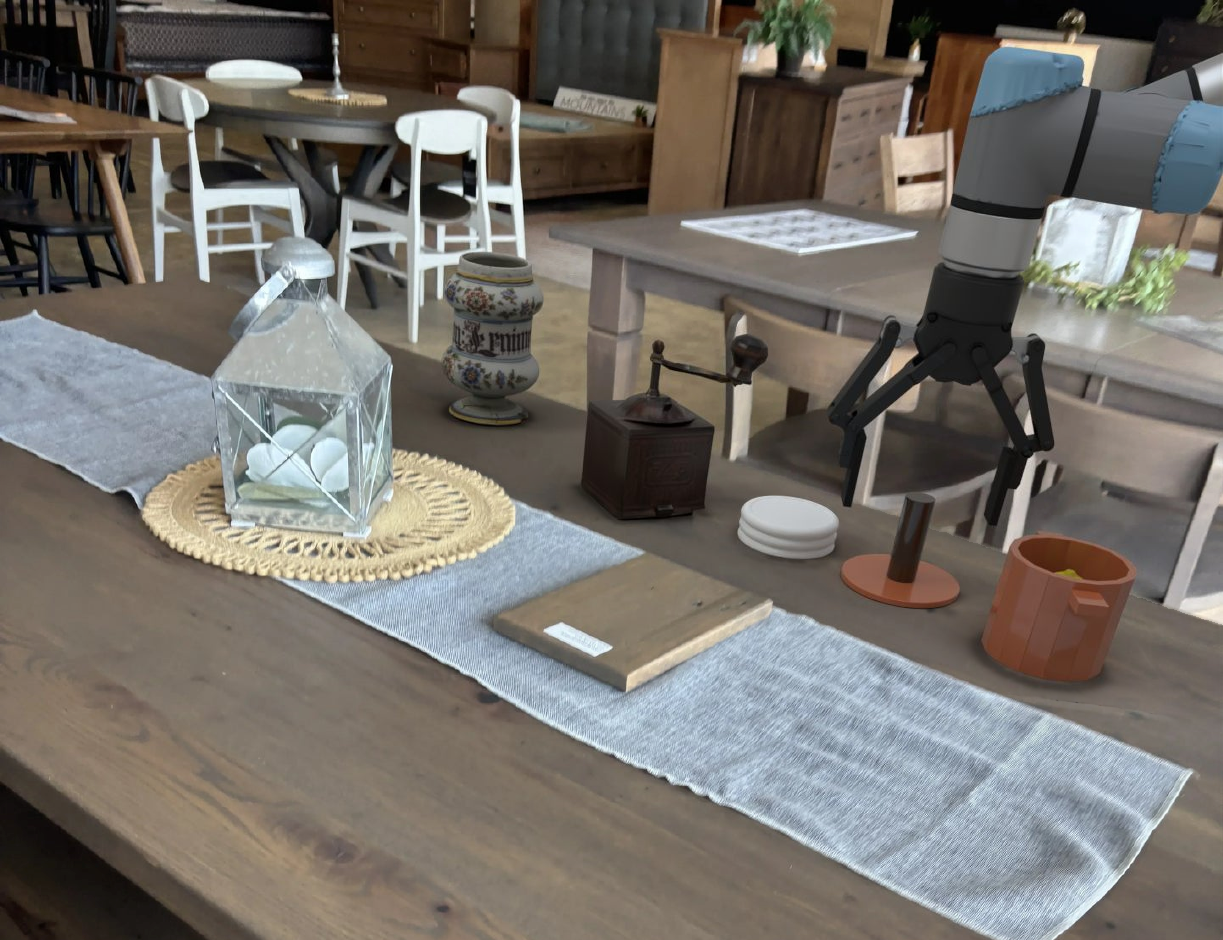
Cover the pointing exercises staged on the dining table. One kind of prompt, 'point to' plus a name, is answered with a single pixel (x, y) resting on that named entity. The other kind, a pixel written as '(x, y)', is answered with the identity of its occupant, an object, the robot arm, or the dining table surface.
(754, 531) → the white stacked discs
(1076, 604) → the pot
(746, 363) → the coffee grinder
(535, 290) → the apothecary jar
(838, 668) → the dining table surface
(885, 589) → the lid
